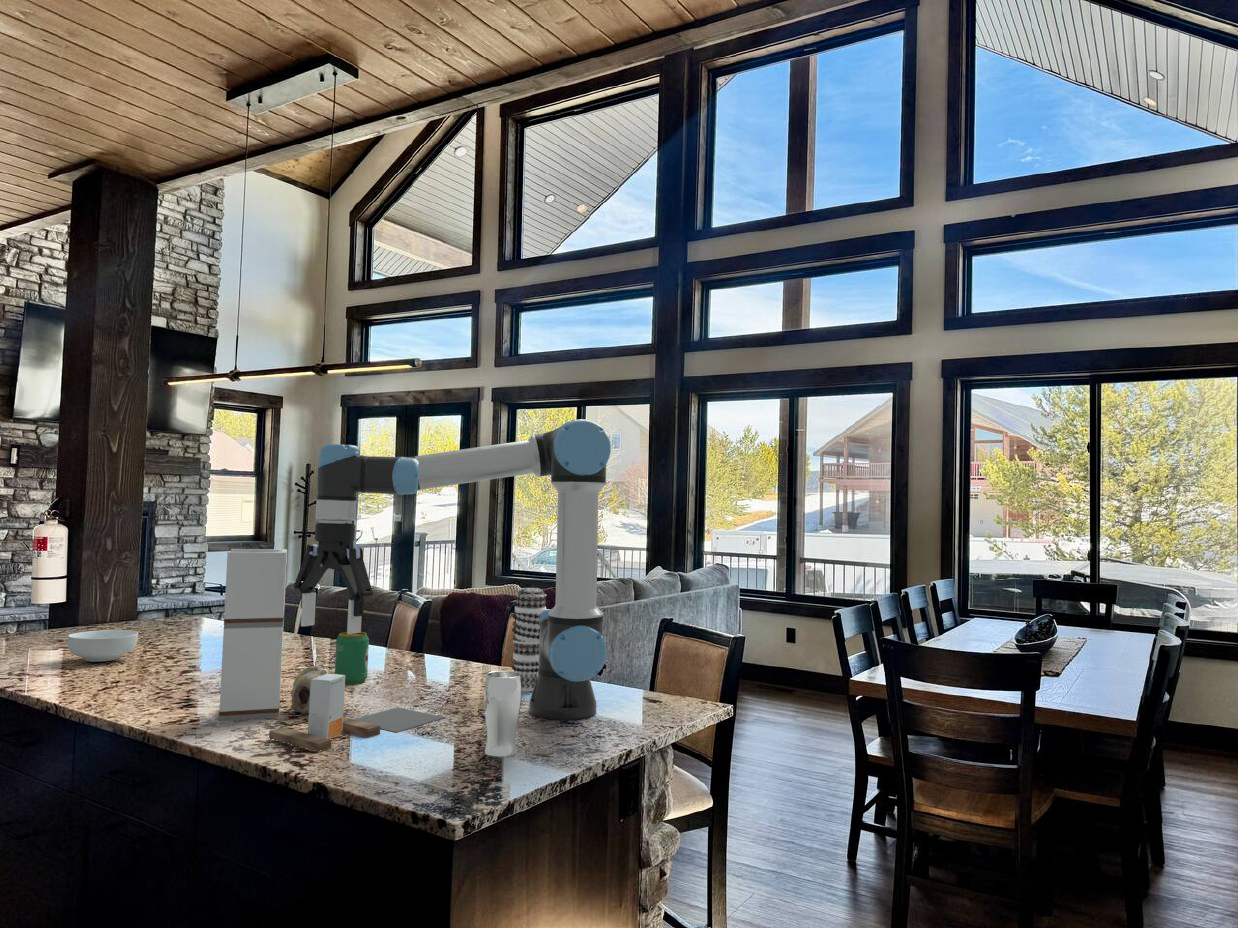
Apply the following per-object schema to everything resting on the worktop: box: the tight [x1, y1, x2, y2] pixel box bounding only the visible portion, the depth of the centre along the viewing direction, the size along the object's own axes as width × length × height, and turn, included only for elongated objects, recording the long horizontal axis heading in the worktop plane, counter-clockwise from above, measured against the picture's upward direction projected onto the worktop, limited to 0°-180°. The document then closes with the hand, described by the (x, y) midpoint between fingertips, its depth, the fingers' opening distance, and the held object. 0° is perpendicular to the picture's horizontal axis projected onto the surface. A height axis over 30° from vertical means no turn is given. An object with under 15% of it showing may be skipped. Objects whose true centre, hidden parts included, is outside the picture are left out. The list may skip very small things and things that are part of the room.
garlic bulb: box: [289, 665, 328, 715], centre depth 179 cm, size 10×8×10 cm
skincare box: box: [307, 673, 346, 740], centre depth 161 cm, size 6×4×12 cm
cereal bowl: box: [66, 629, 139, 662], centre depth 229 cm, size 17×17×7 cm
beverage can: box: [334, 631, 370, 685], centre depth 211 cm, size 8×8×12 cm
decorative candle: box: [511, 587, 548, 692], centre depth 209 cm, size 9×9×25 cm
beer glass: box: [483, 670, 522, 758], centre depth 154 cm, size 7×7×15 cm
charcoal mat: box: [353, 706, 446, 734], centre depth 174 cm, size 14×14×1 cm
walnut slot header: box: [268, 716, 381, 752], centre depth 161 cm, size 14×15×2 cm
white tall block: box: [218, 548, 288, 722], centre depth 178 cm, size 11×11×35 cm
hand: (330, 629), depth 163 cm, fingers open, 13 cm apart
